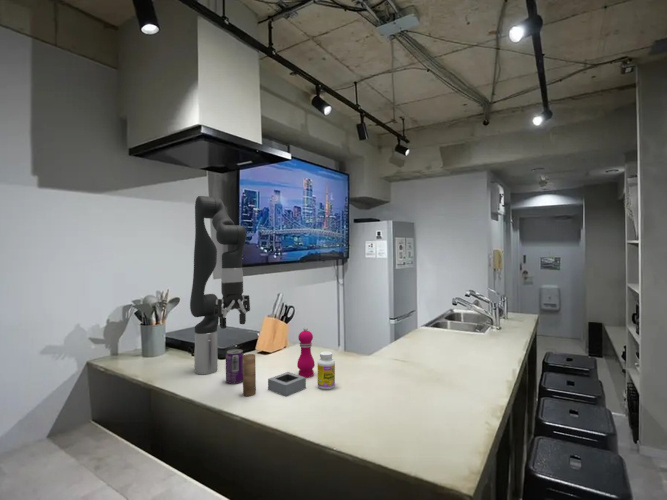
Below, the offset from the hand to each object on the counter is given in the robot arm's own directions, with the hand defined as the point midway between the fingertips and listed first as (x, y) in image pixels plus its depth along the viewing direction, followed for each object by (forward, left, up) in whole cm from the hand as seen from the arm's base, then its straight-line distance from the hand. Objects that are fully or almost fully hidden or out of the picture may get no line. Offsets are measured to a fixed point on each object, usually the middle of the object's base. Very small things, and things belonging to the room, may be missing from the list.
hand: (233, 326), depth 130 cm
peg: (+2, +5, -25) cm, 26 cm away
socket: (+9, +17, -25) cm, 32 cm away
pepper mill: (+4, +32, -26) cm, 41 cm away
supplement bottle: (+19, +28, -26) cm, 43 cm away
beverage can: (-13, +9, -26) cm, 30 cm away
